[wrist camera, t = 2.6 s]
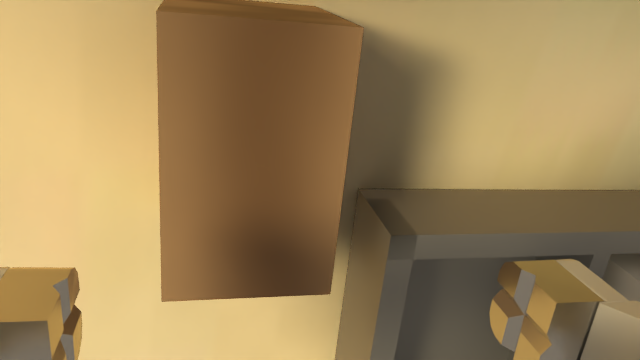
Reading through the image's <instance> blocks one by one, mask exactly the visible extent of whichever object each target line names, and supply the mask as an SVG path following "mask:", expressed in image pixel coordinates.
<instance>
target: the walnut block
mask: <svg viewBox="0 0 640 360" xmlns="http://www.w3.org/2000/svg"><path fill="white" fill-rule="evenodd" d="M156 14H157V69H158V125H159V181H160V237H161V293H162V302H165V301H187V300H210V299H233V298H256V297H278V296H301V295H324V294H330V292H331V284H332V276H333V268H334V260H335V252H336V244H337V236H338V229H339V221H340V213H341V205H342V197H343V189H344V181H345V173H346V165H347V157H348V149H349V141H350V133H351V126H352V118H353V110H354V102H355V94H356V86H357V78H358V70H359V62H360V54H361V46H362V38H363V30H364V28H363V27H361V26H359V25H357V24H354V23H352V22H350V21H348V20H345V19H343V18H341V17H338V16H336V15H334V14H332V13H329V12H327V11H325V10H322V9H320V8H318V7H316V6H304V5H293V4H282V3H270V2H259V1H248V0H164V1H163V2H162V4H161V5H160V7H159V8H158V9H157V11H156Z"/></svg>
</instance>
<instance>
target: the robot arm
mask: <svg viewBox="0 0 640 360" xmlns="http://www.w3.org/2000/svg"><path fill="white" fill-rule="evenodd" d="M497 281H498V283H499V285H500V287H501V290H500V291H499V292H498V293H497V294H496V296H495V297H494V298H493V299H492V303H491V307H490V312H489V314H490V323H491V328H492V330H493V333H494V335H495V337H496V338H497V340H498V341H499V342H500V344H501V345H503V346H505V347H506V348H508V349H510V350H512V351H514V357H513V360H640V302H638V301H629V300H628V299H626V298H625V297H624V296H623V295H621V294H620V293H619V292H617V291H616V290H615V289H614V288H612V287H611V286H610V285H609V284H607V283H606V282H605V281H603V280H602V279H601V278H600V277H598V276H597V275H596V274H595V273H593V272H592V271H591V270H589V269H588V268H587V267H586V266H584V265H583V264H582V263H581V262H579V261H577V260H573V259H559V260H537V261H513V262H505V263H504V264H503V266H502V267H501V269H500V271H499V275H498V278H497ZM79 290H80V289H79V280H78V273H77V271H76V269H75V268H53V267H13V268H10V267H0V360H78V357H79V352H80V346H81V339H82V315H81V311H80V310H79V309H78V308H77V307H76V306H75V305H74V303H75V300H76V298H77V295H78V293H79Z"/></svg>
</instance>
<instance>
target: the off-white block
mask: <svg viewBox="0 0 640 360" xmlns="http://www.w3.org/2000/svg"><path fill="white" fill-rule="evenodd" d="M602 280H603V281H605V282H606V283H607V284H609V285H610V286H611V287H612V288H614V289H615V290H616V291H617V292H619V293H620V294H621V295H623V296H624V297H625V298H626V299H628V300H629V301H638V302H640V253H632V254H611V256H610V259H609V261H608V264H607V267H606V270H605V273H604V276H603V278H602Z"/></svg>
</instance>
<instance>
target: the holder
mask: <svg viewBox="0 0 640 360" xmlns="http://www.w3.org/2000/svg"><path fill="white" fill-rule="evenodd" d="M632 253H640V190H460V189H359V190H358V197H357V204H356V211H355V218H354V226H353V233H352V240H351V247H350V255H349V262H348V269H347V276H346V284H345V291H344V298H343V305H342V312H341V320H340V327H339V334H338V341H337V349H336V356H335V360H513V357H514V351H512V350H510V349H508V348H506V347H505V346H503V345H501V344H500V342H499V341H498V340H497V338H496V337H495V335H494V333H493V330H492V328H491V323H490V314H489V312H490V307H491V303H492V299H493V298H494V297H495V296H496V294H497V293H498V292H499V291H500V290H501V287H500V285H499V283H498V281H497V278H498V275H499V271H500V269H501V267H502V266H503V264H504V263H505V262H513V261H537V260H559V259H573V260H577V261H579V262H581V263H582V264H583V265H584V266H586V267H587V268H588V269H589V270H591V271H592V272H593V273H595V274H596V275H597V276H598V277H600V278H601V279H602V278H603V276H604V273H605V270H606V267H607V264H608V261H609V259H610V256H611V254H632Z"/></svg>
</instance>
